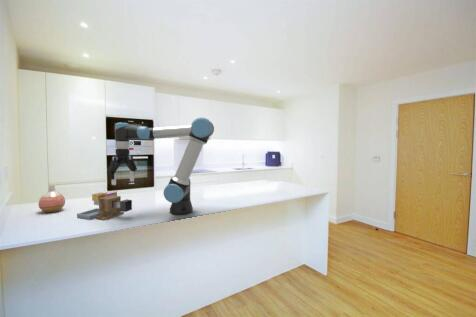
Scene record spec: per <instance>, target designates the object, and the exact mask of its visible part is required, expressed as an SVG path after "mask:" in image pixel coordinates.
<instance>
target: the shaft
mask: <svg viewBox="0 0 476 317" xmlns="http://www.w3.org/2000/svg"><path fill="white" fill-rule="evenodd" d="M93 205H94V206H99V201H93ZM112 207H116V208H120V211H122V212H124V213H126V212H129V211H132V210H133V200H132V199H124V200H121V201H120V202H119V201H112Z"/></svg>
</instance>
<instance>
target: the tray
mask: <svg viewBox="0 0 476 317" xmlns="http://www.w3.org/2000/svg"><path fill="white" fill-rule="evenodd" d="M97 216H99V207H98V208H97V207H96V208H94V209H93V208H92V209H88V210H86V211H83V212H79V213H76V218H77V219H81V220H88V221H89V220H90V221H92V220H96V217H97Z"/></svg>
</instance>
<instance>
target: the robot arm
mask: <svg viewBox="0 0 476 317" xmlns="http://www.w3.org/2000/svg"><path fill="white" fill-rule="evenodd" d="M214 132H215V126H214V124H213V123H212V121H210V120H209V119H208V118H206V117H197V118H196V119H194V120H193V121H192V122H191V124H182V125H180V124H179V125H171V126H170V125H169V126H167V125H166V126H157V127H155V126H154V127H148V126H143V125H139V126H137V125H136V126H130V124H129V123H127V122H117V123H115V125H114V134H115V135H114V138H115V140H114V142H115V145H114V146H115V156H112V157H111V161H110V163H109V166H108V169H107V171H106V173H107V174H109V175H110V180H111V185H112V186H116V185H117V173H116V172H117V170H119V168H120V166H121V165H123V164H124V165H126V166H127V168H128V169H129V170H130V171H129V182H135V172H136V171H137V170H138V167H137V165H136V163H135V161H134V157H133V155H130V139H131V140H133V139H134V140H135V139H136V140H149V141H150V140H155V139H156V140H157V139H169V138H183V137H185V138H186V137H188V138H189V141H188V144H187V145H186V148H185V150H184V153H183V155H182V157H181V160H180V162H179V165H178V167H177V169H176V172H175V174H174V175H172V176H171V177H170V179H169V181H168V184H166V186H165V187H164V189H163V197H164V198H165V200H166V201H167V202H169V203H171V205H170V206H169V207H170V208H169V213H170V214H171V215H177V216H181V215H182V216H183V215H189V214H191V213H193V212H194V209H193V208H194V207H193V204H192V200H191V178H190V177H191V175H192V172H193V170H194V167H195V166H196V163H197V161H198V158H199V156H200V153H201V151H202V148H203V146H204V145H206V144H208V141H209V138H210V137H212V135H213V134H214Z"/></svg>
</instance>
